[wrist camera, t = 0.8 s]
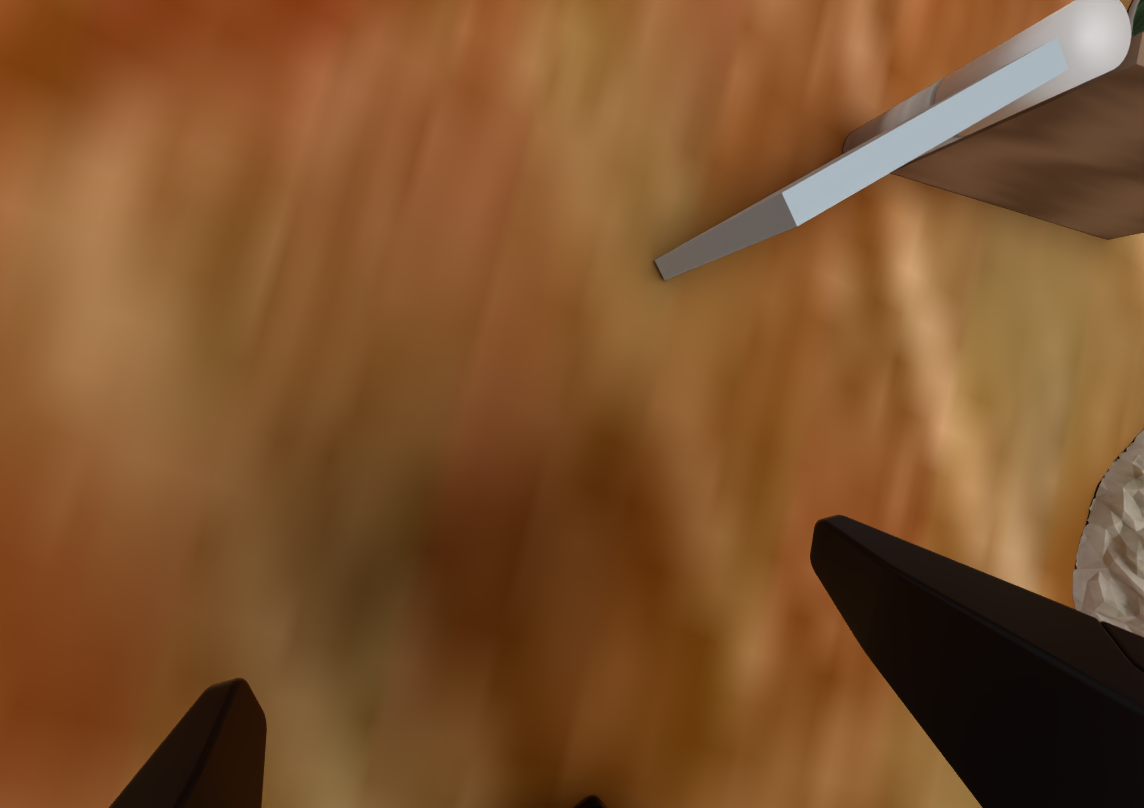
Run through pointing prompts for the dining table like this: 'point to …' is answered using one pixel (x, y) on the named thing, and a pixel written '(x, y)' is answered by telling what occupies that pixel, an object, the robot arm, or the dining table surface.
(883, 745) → the dining table surface
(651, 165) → the dining table surface
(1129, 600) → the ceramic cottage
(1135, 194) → the walnut leaf
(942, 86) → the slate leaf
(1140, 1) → the canned tomato
